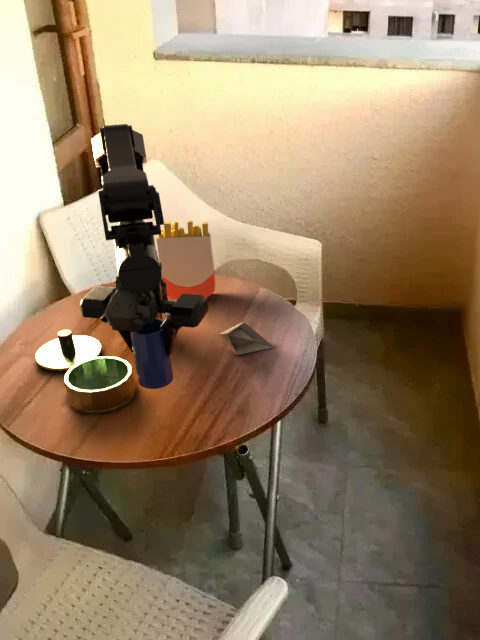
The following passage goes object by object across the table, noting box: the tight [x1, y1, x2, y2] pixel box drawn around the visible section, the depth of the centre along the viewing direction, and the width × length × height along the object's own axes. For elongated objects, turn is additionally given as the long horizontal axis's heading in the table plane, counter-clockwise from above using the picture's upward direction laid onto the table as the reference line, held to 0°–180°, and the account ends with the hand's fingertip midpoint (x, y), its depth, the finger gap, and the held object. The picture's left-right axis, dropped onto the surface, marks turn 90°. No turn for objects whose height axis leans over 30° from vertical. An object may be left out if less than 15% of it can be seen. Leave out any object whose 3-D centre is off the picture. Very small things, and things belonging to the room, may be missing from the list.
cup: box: [130, 318, 174, 390], centre depth 115 cm, size 6×6×10 cm
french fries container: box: [155, 220, 216, 300], centre depth 153 cm, size 5×11×18 cm, turn 95°
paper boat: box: [218, 321, 274, 356], centre depth 137 cm, size 12×6×9 cm
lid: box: [35, 329, 103, 372], centre depth 137 cm, size 12×12×5 cm
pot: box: [63, 355, 136, 415], centre depth 126 cm, size 11×11×4 cm
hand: (151, 353), depth 115 cm, fingers closed on cup, 6 cm apart
